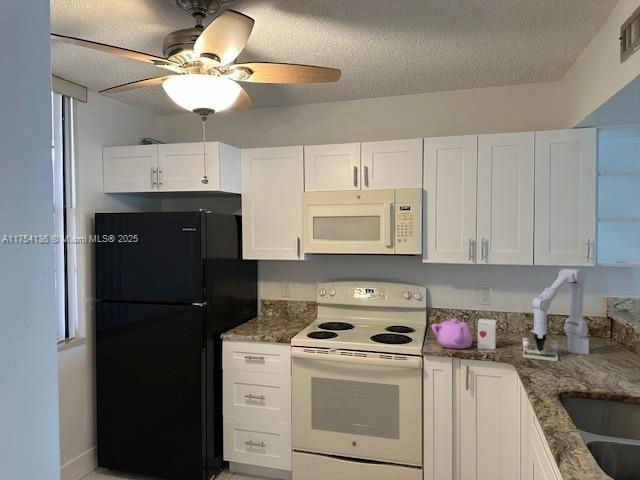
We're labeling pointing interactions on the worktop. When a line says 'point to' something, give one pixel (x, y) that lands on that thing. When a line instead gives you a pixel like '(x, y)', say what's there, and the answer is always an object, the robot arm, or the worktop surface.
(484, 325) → the supplement box
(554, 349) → the cylinder
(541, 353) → the marked fuse
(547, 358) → the tray
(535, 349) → the fuse holder
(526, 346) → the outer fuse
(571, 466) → the worktop surface
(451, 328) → the teapot
